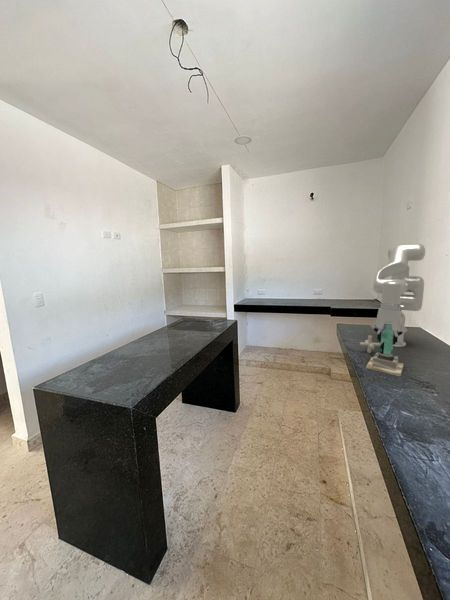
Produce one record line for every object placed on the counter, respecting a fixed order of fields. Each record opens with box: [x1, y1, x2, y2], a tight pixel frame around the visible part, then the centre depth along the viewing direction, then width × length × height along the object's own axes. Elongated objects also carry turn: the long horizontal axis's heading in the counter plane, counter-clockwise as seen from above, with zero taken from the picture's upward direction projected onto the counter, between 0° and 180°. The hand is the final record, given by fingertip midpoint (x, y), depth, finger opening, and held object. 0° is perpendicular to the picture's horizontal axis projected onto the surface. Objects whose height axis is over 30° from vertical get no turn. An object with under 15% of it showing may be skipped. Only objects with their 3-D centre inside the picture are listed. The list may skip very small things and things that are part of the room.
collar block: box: [365, 352, 405, 377], centre depth 122 cm, size 14×14×5 cm
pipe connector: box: [359, 334, 380, 354], centre depth 140 cm, size 10×10×10 cm
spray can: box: [379, 321, 394, 357], centre depth 120 cm, size 6×6×20 cm
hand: (387, 342), depth 120 cm, fingers closed on spray can, 5 cm apart
